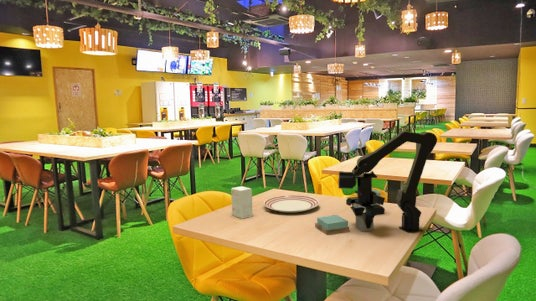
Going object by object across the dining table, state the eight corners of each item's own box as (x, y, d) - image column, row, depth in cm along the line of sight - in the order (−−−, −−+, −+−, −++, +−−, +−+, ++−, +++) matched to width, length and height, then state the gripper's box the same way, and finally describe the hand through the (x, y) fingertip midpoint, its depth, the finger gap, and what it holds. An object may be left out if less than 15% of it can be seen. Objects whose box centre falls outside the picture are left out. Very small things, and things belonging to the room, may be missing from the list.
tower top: (348, 227, 150) (348, 220, 150) (327, 230, 147) (327, 224, 147) (336, 220, 159) (336, 214, 158) (317, 223, 156) (317, 217, 156)
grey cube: (373, 230, 152) (373, 217, 151) (362, 231, 150) (362, 219, 149) (366, 226, 156) (366, 214, 156) (355, 227, 155) (355, 216, 154)
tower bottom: (349, 233, 151) (349, 227, 150) (326, 236, 147) (326, 230, 147) (336, 225, 160) (336, 220, 160) (315, 229, 157) (315, 223, 157)
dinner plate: (317, 217, 172) (317, 209, 171) (258, 215, 177) (257, 208, 177) (321, 201, 198) (321, 195, 198) (269, 200, 204) (269, 194, 203)
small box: (253, 216, 175) (252, 188, 174) (241, 219, 171) (240, 190, 170) (242, 212, 181) (241, 185, 180) (231, 215, 177) (230, 187, 176)
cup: (382, 214, 171) (382, 193, 170) (365, 215, 171) (365, 193, 170) (377, 210, 179) (378, 189, 178) (361, 210, 179) (361, 189, 178)
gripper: (396, 191, 145) (396, 230, 147) (368, 182, 162) (368, 217, 164) (371, 194, 141) (371, 234, 143) (345, 184, 159) (345, 221, 161)
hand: (364, 226), depth 153 cm, fingers closed on grey cube, 5 cm apart
